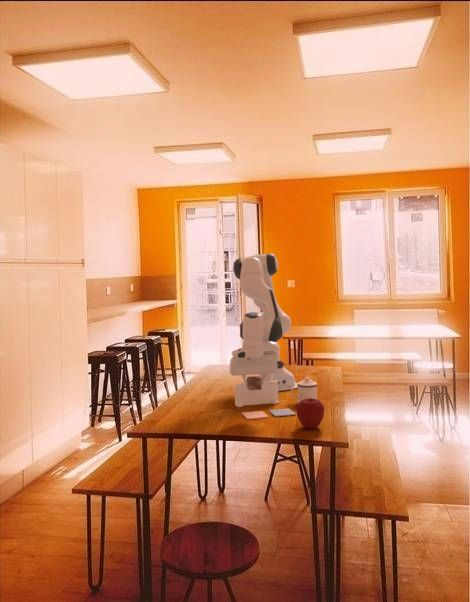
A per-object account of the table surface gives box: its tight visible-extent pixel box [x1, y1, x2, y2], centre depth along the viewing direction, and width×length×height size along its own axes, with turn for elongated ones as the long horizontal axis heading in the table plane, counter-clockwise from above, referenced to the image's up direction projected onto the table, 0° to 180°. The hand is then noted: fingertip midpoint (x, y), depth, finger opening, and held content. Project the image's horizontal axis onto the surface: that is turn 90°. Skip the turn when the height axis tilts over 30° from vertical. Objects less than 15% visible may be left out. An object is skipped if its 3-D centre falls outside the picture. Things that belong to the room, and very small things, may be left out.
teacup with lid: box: [290, 377, 318, 404], centre depth 234 cm, size 12×9×12 cm
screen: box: [234, 380, 280, 408], centre depth 234 cm, size 20×5×10 cm, turn 103°
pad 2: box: [268, 408, 297, 418], centre depth 218 cm, size 9×9×1 cm
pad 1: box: [241, 410, 269, 421], centre depth 216 cm, size 9×9×1 cm
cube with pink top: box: [246, 375, 261, 390], centre depth 215 cm, size 5×5×5 cm
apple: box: [295, 398, 325, 430], centre depth 198 cm, size 11×11×12 cm
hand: (253, 384), depth 215 cm, fingers closed on cube with pink top, 5 cm apart
